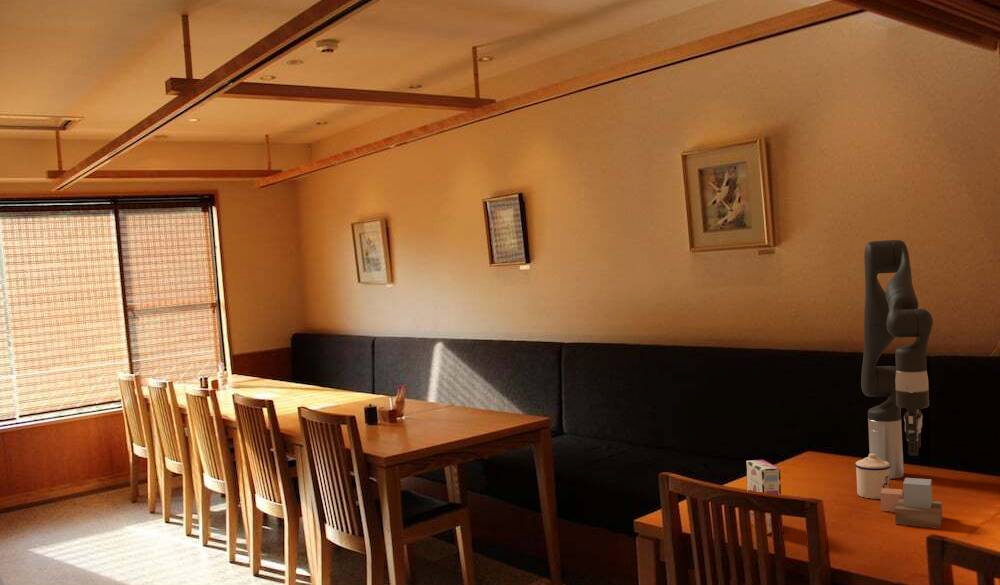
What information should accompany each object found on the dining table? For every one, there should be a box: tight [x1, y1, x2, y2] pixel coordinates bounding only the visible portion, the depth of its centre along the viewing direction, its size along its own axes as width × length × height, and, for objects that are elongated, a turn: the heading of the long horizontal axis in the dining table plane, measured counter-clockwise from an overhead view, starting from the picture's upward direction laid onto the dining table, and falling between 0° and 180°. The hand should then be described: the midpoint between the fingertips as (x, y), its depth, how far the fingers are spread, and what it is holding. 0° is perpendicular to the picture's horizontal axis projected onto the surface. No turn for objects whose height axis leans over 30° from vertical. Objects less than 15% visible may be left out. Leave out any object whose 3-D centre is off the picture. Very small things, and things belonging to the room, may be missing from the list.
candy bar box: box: [745, 459, 782, 535], centre depth 220 cm, size 11×5×16 cm, turn 5°
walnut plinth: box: [894, 497, 943, 529], centre depth 219 cm, size 10×10×4 cm
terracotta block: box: [880, 488, 904, 513], centre depth 229 cm, size 5×5×5 cm
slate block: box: [902, 477, 933, 509], centre depth 219 cm, size 6×6×6 cm
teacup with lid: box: [854, 453, 891, 500], centre depth 244 cm, size 12×9×12 cm
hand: (914, 451), depth 219 cm, fingers open, 8 cm apart
